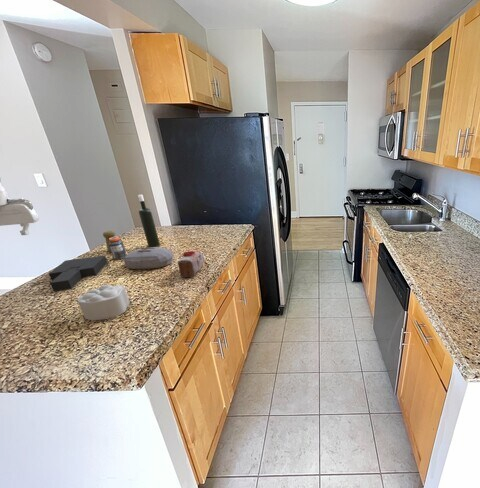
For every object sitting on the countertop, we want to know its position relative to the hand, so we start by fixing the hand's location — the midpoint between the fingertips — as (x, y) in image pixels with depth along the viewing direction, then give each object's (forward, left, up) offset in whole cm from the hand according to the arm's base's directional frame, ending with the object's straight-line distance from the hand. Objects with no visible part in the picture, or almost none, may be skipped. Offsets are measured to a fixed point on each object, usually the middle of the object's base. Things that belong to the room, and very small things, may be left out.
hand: (9, 236), depth 98 cm
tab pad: (+10, +3, -24) cm, 26 cm away
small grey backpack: (+40, +11, -24) cm, 48 cm away
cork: (+15, +40, -24) cm, 49 cm away
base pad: (+10, +14, -24) cm, 30 cm away
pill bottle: (+22, +26, -24) cm, 42 cm away
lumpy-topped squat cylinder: (+33, -27, -24) cm, 49 cm away
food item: (+60, -4, -24) cm, 65 cm away
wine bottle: (+35, +39, -24) cm, 58 cm away
